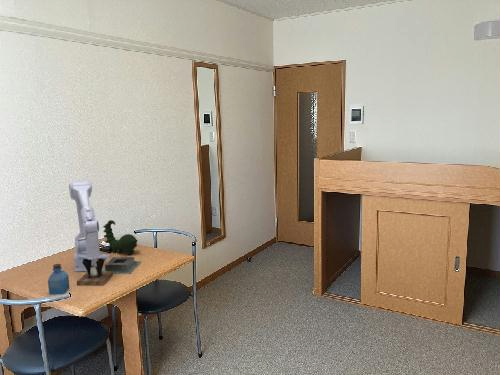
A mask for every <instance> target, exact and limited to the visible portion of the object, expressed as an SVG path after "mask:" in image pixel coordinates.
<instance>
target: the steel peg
mask: <svg viewBox="0 0 500 375" xmlns="http://www.w3.org/2000/svg"><path fill="white" fill-rule="evenodd" d="M90 275H91V279H99V278H100V275H98V268H97V264H95V265H91V266H90Z"/></svg>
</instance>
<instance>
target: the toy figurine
mask: <svg viewBox="0 0 500 375" xmlns="http://www.w3.org/2000/svg"><path fill="white" fill-rule="evenodd" d="M112 224H113V225H114V226H115V225H116V222H115V220H111V219H110V220H107V223H105V224H104V225H103V226H102V227H103V228H104V230H103V233H105V234H104V236H103V237H104V238H106V240H105V241H104V244H108V247H107V248H108V250H109V249H111V250H112V253H118V254H121V253H122V252H126V254H127V255H128V256H129V255H133V254H134V253H135V249H136V248H137V246H138V239H136V237H135V236H134V235H132V234H130V233H128V234H124V235H122V236H120V238H119V239H116V237H115V236H114V233H113V229H112Z"/></svg>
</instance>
